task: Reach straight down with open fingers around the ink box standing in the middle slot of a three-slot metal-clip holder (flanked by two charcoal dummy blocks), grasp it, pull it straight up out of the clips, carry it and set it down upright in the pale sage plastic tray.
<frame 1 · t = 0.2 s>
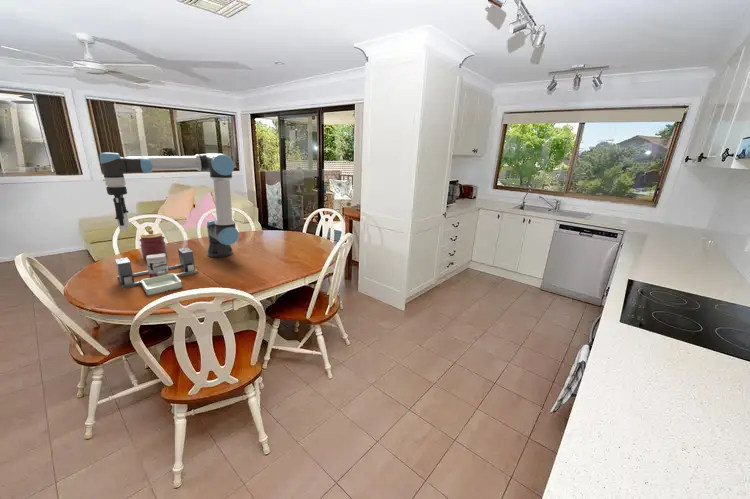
hand: (125, 228, 156), 27 cm above the table, fingers open, 13 cm apart
ink box: (159, 276, 168), resting in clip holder
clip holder: (159, 275, 168), on the table
tray: (162, 286, 156), on the table
canister: (155, 256, 196), on the table
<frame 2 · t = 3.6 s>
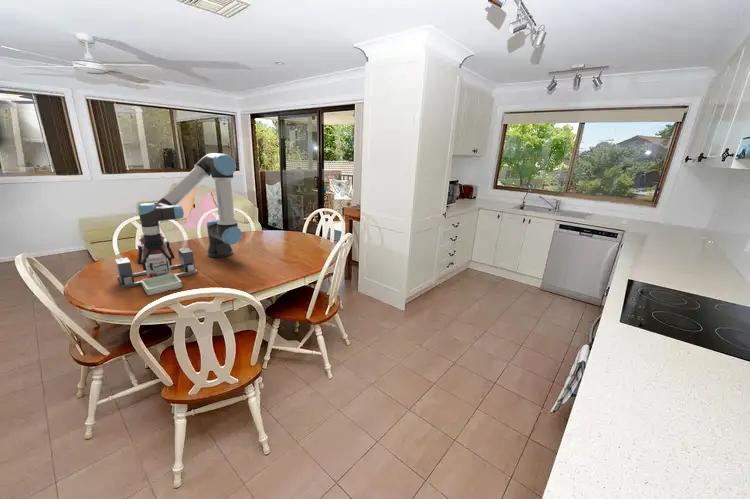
hand: (159, 273, 168), 2 cm above the table, fingers closed on ink box, 9 cm apart
ink box: (159, 276, 168), resting in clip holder, touching gripper
everything else where it was.
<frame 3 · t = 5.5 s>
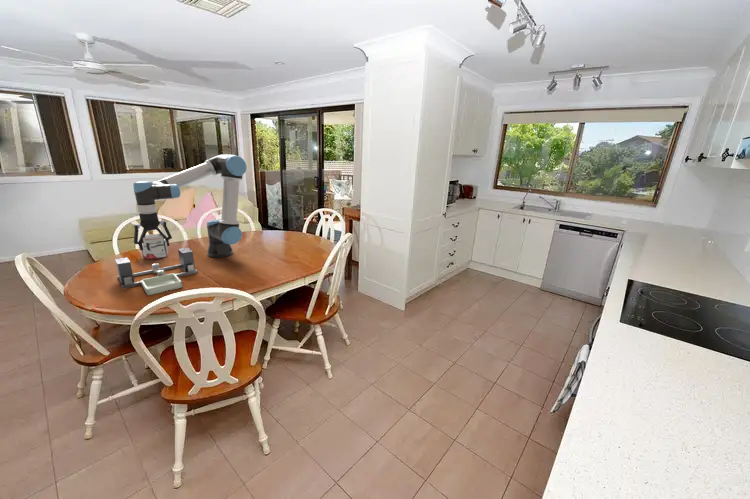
hand: (156, 253, 165), 13 cm above the table, fingers closed on ink box, 9 cm apart
ink box: (156, 256, 165), point 11 cm above the table, touching gripper
everything else where it was.
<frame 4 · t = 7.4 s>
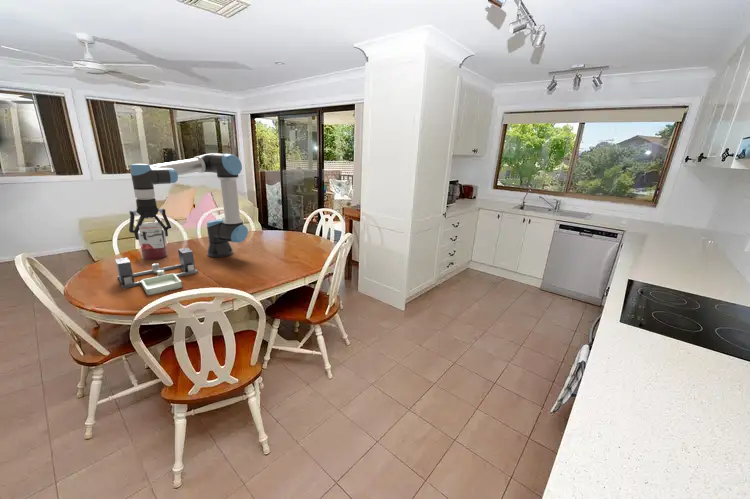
hand: (153, 244, 150), 22 cm above the table, fingers closed on ink box, 9 cm apart
ink box: (153, 247, 151), point 20 cm above the table, touching gripper
everything else where it was.
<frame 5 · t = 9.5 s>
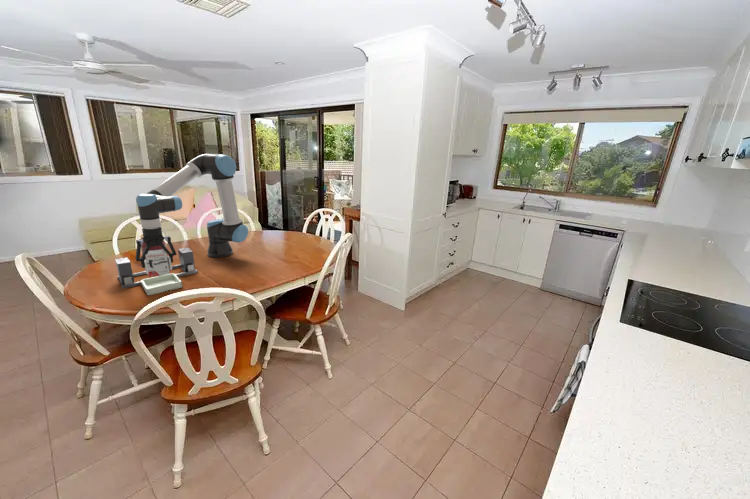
hand: (159, 271, 154), 8 cm above the table, fingers closed on ink box, 9 cm apart
ink box: (159, 274, 154), point 7 cm above the table, touching gripper
everything else where it was.
when the fingers open (4 cm above the table, at t = 11.2 s): ink box drops 2 cm, resting on tray.
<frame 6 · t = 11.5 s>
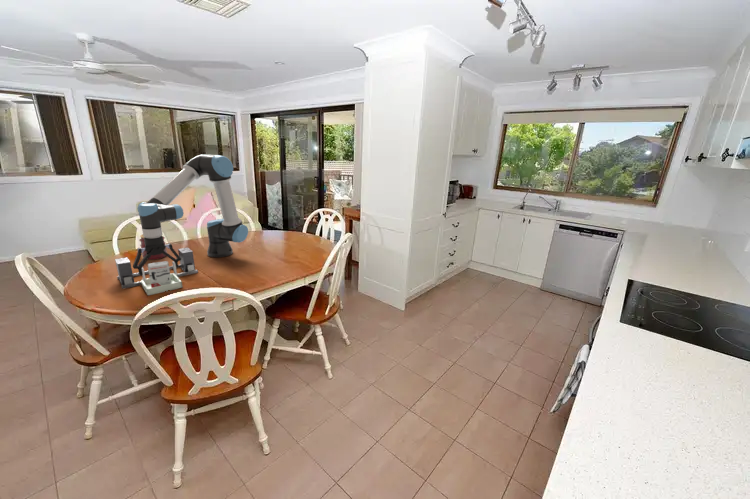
hand: (160, 277, 155), 5 cm above the table, fingers open, 12 cm apart
ink box: (161, 285, 156), resting on tray
everything else where it was.
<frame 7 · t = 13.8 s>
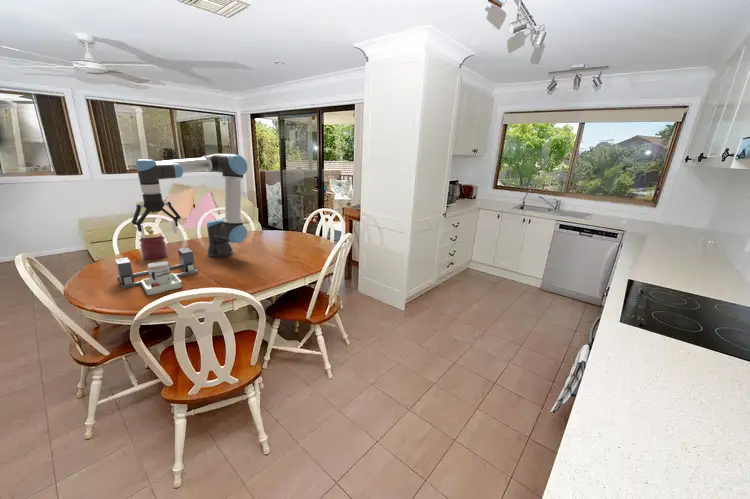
hand: (160, 235, 155), 25 cm above the table, fingers open, 13 cm apart
nothing on the table moved.
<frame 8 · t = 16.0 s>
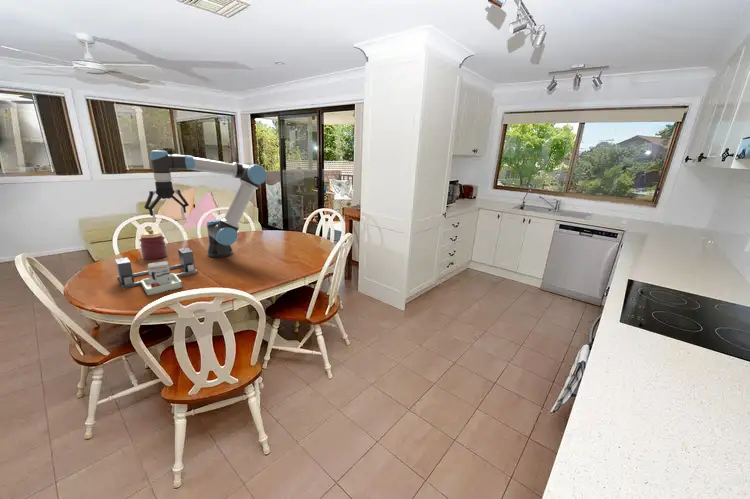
hand: (169, 220, 170), 29 cm above the table, fingers open, 13 cm apart
nothing on the table moved.
at the end: ink box inside the target area on the tray (0.1 cm from its centre), point 0.4 cm above the tray's base; ink box tilted 0°; the gripper is holding nothing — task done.
